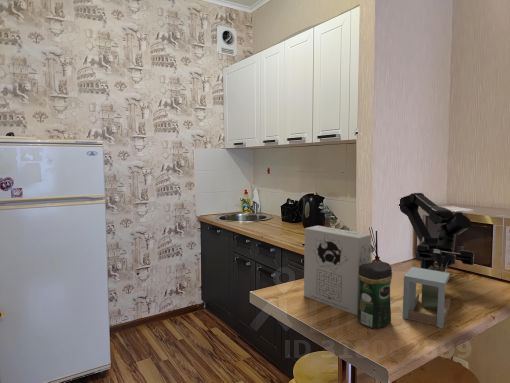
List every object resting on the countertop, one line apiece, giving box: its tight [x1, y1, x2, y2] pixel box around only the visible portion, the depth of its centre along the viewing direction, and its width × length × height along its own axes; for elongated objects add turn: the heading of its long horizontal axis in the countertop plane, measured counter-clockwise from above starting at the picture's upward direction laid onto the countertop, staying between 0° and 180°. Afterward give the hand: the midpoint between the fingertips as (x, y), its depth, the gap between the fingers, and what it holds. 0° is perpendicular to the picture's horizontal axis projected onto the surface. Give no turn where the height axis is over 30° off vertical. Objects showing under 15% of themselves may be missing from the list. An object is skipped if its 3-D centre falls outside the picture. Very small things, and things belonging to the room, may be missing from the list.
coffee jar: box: [357, 260, 393, 329], centre depth 104 cm, size 10×8×19 cm
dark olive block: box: [420, 265, 448, 311], centre depth 120 cm, size 16×5×10 cm, turn 144°
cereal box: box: [303, 225, 372, 316], centre depth 118 cm, size 22×8×25 cm, turn 43°
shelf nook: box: [402, 266, 451, 329], centre depth 110 cm, size 17×11×14 cm, turn 144°
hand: (441, 274), depth 126 cm, fingers closed, pressing on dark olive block
